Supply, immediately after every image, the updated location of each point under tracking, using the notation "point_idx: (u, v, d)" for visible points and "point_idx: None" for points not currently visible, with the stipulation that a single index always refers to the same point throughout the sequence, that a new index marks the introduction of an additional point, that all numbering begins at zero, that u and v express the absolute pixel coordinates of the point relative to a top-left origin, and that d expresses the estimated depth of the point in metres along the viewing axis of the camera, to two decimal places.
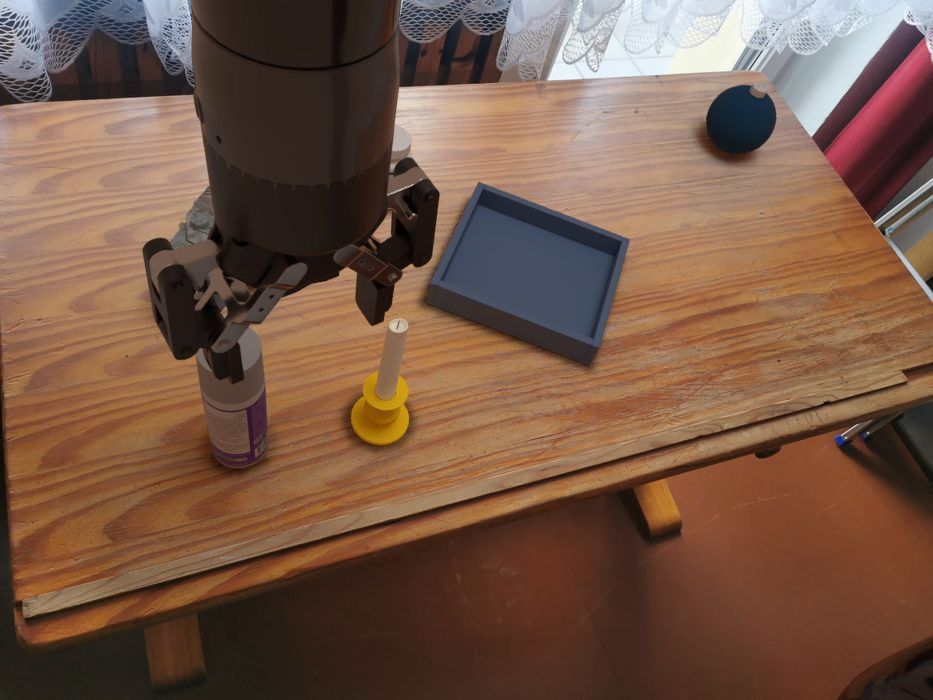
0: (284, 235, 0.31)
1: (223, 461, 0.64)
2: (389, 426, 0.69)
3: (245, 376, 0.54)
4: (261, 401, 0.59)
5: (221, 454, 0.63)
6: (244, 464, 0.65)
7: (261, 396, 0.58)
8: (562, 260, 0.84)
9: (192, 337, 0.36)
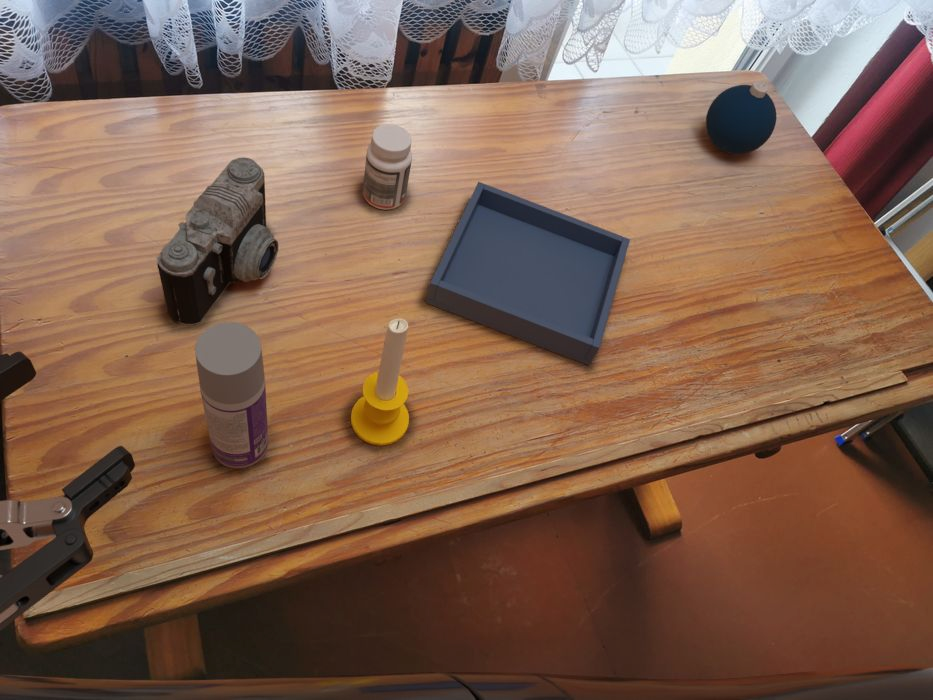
0: None
1: (223, 461, 0.64)
2: (389, 426, 0.69)
3: (245, 376, 0.54)
4: (261, 401, 0.59)
5: (221, 454, 0.63)
6: (244, 464, 0.65)
7: (261, 396, 0.58)
8: (562, 260, 0.84)
9: (49, 548, 0.38)
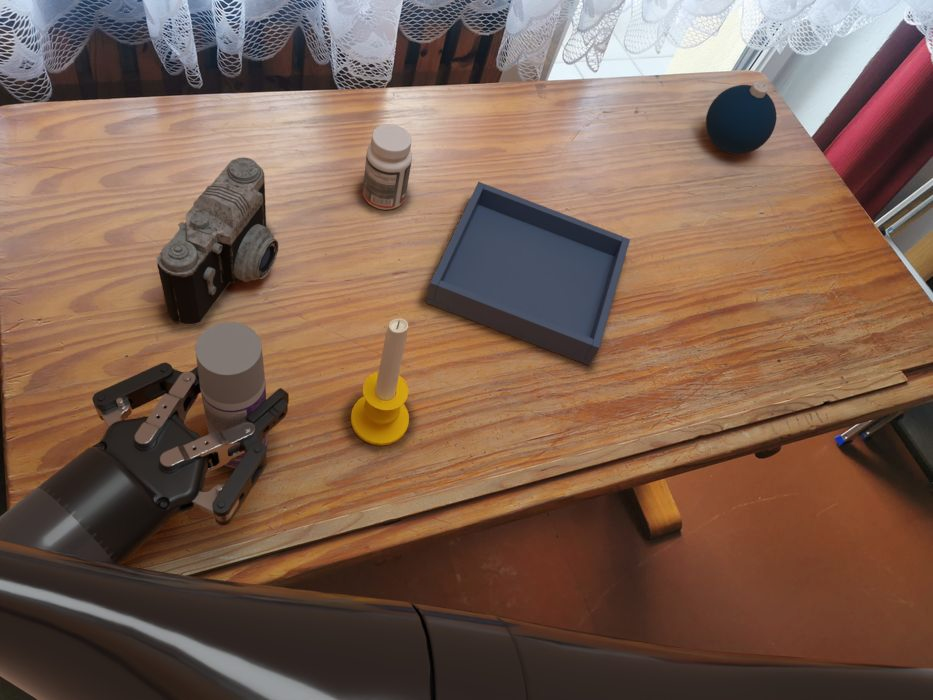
0: (126, 502, 0.51)
1: None
2: (389, 426, 0.69)
3: (245, 376, 0.54)
4: (261, 401, 0.59)
5: None
6: None
7: (261, 396, 0.58)
8: (562, 260, 0.84)
9: (246, 458, 0.56)
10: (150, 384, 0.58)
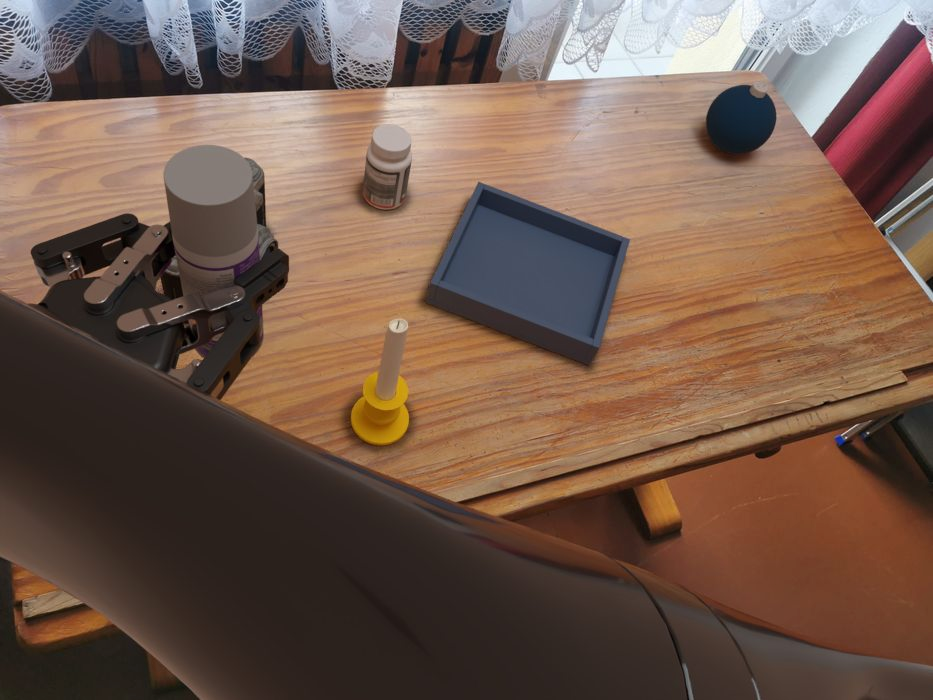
0: None
1: (206, 354, 0.51)
2: (389, 426, 0.69)
3: (231, 211, 0.40)
4: (253, 261, 0.45)
5: None
6: None
7: (253, 253, 0.44)
8: (562, 260, 0.84)
9: (233, 327, 0.42)
10: (108, 238, 0.44)
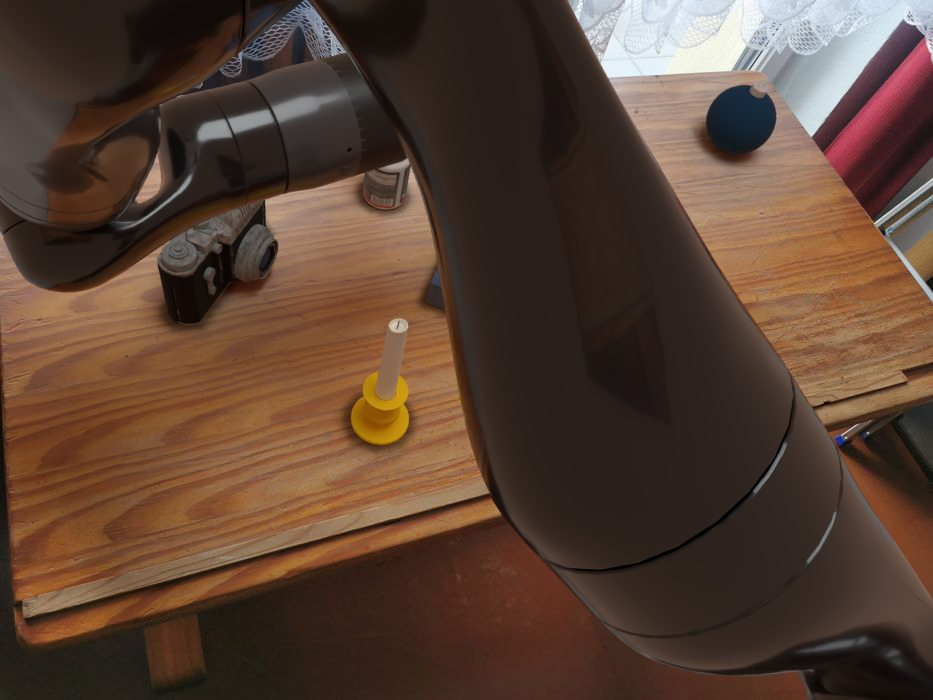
0: None
1: None
2: (389, 426, 0.69)
3: None
4: None
5: None
6: None
7: None
8: None
9: None
10: None
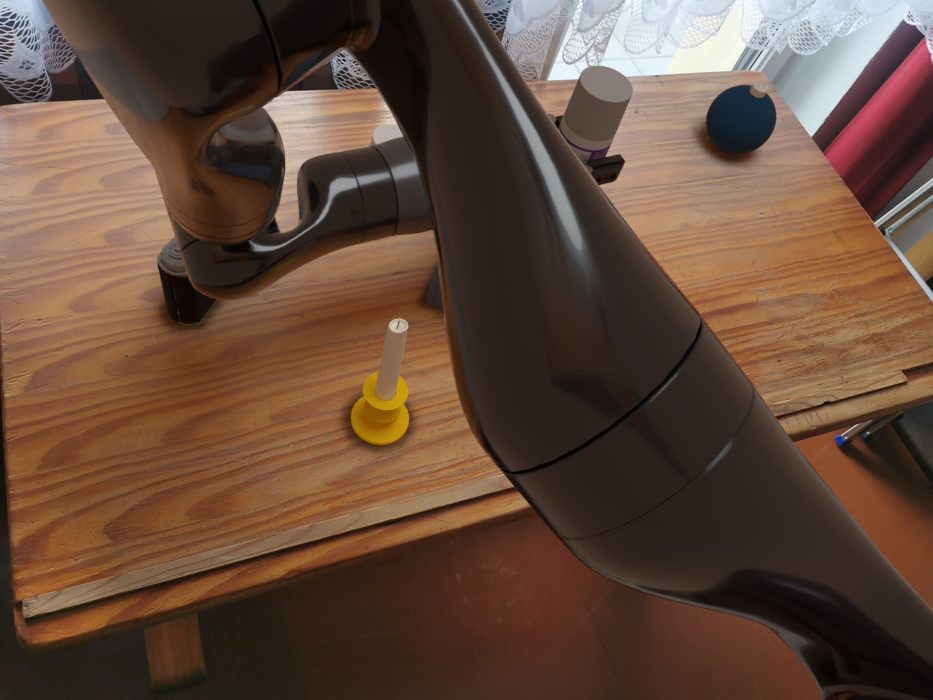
0: None
1: None
2: (389, 426, 0.69)
3: (612, 109, 0.61)
4: (603, 155, 0.66)
5: None
6: None
7: (606, 148, 0.65)
8: None
9: None
10: None
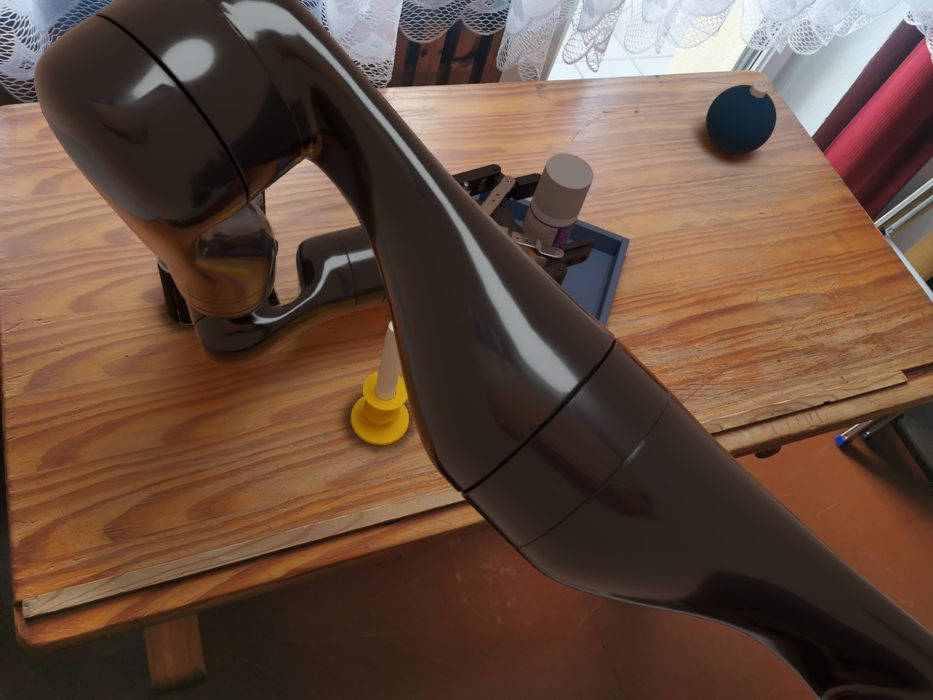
0: None
1: None
2: (389, 426, 0.69)
3: (574, 194, 0.69)
4: (569, 230, 0.73)
5: None
6: None
7: (572, 224, 0.73)
8: None
9: (550, 268, 0.69)
10: (486, 177, 0.74)
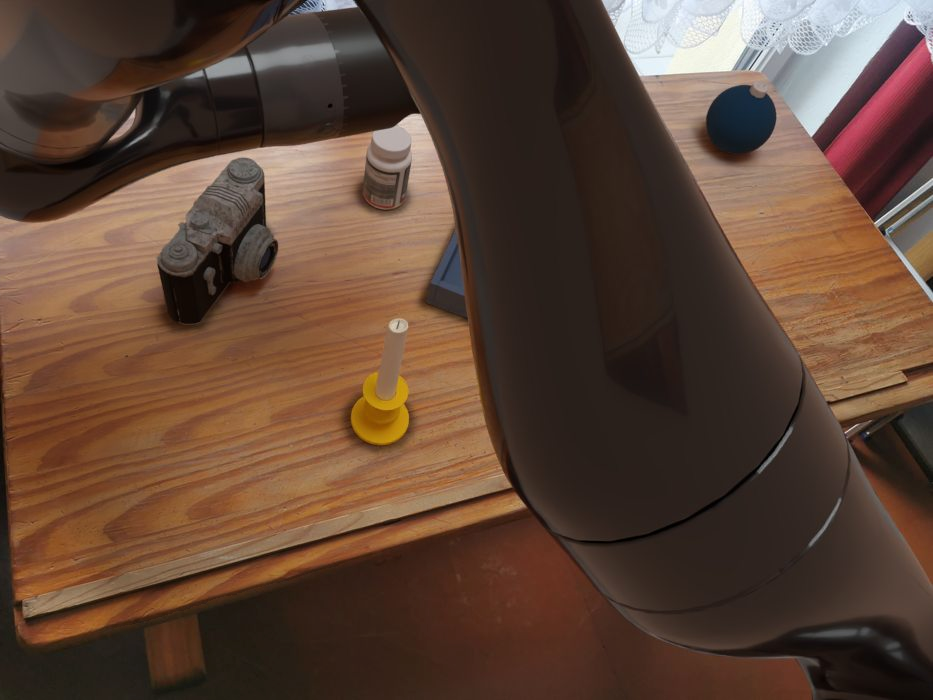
0: (381, 52, 0.46)
1: None
2: (389, 426, 0.69)
3: None
4: None
5: None
6: None
7: None
8: None
9: None
10: None
